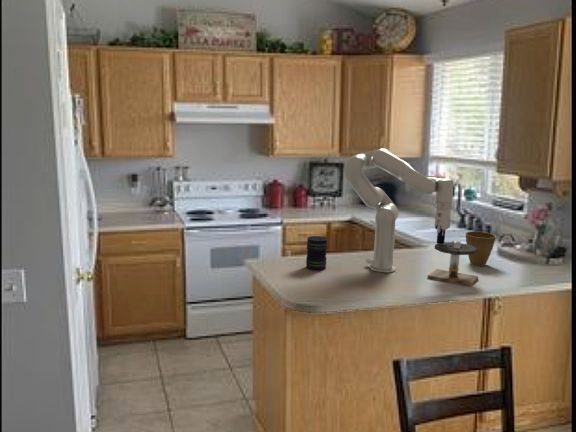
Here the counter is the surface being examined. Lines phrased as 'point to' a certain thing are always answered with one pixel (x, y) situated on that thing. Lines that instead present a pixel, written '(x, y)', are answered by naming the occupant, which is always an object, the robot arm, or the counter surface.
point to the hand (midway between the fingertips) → (440, 243)
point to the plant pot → (480, 246)
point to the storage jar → (316, 253)
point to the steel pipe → (454, 260)
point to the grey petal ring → (456, 249)
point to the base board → (460, 279)
